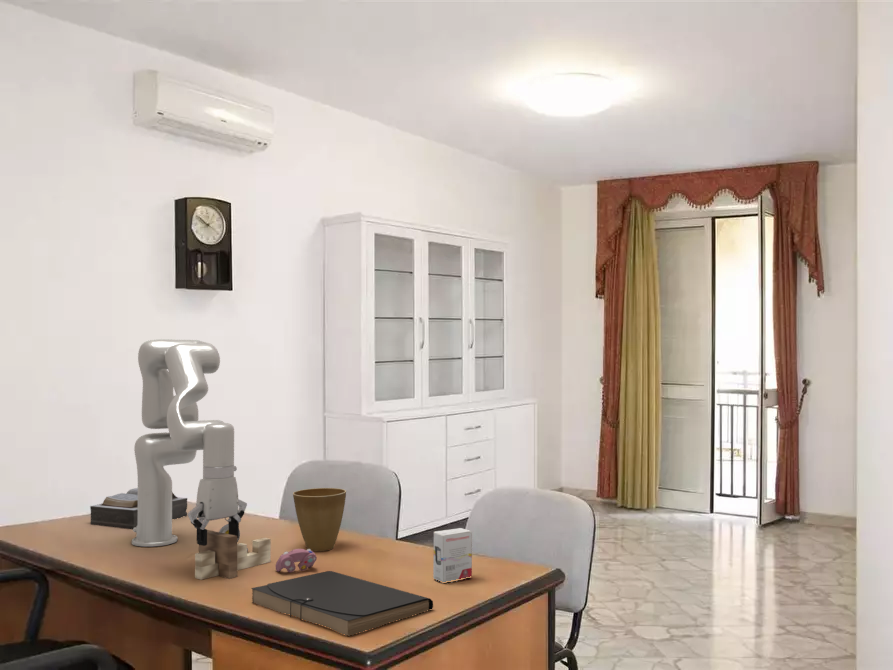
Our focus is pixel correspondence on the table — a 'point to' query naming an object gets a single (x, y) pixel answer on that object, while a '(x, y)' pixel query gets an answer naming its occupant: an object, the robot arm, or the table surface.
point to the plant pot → (319, 516)
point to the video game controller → (296, 560)
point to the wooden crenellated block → (259, 555)
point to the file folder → (340, 601)
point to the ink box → (452, 554)
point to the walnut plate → (223, 552)
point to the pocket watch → (226, 530)
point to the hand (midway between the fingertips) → (218, 541)
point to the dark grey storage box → (128, 510)
